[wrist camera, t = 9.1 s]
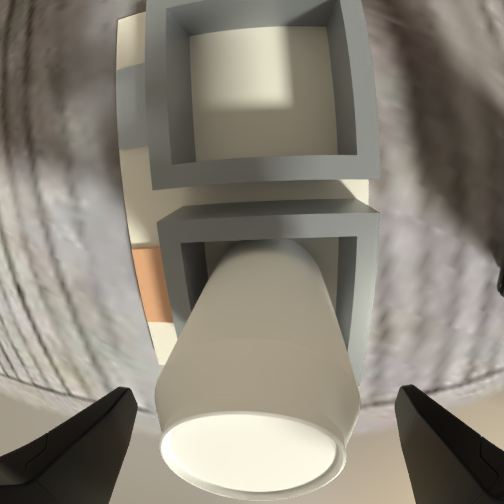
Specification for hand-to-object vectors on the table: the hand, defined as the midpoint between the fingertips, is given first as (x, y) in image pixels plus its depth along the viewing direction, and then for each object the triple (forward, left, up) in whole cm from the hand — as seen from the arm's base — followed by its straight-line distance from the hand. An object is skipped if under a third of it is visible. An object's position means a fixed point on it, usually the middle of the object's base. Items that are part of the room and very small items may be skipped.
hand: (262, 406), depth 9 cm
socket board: (+1, -5, -11) cm, 12 cm away
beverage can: (0, 0, -10) cm, 10 cm away
